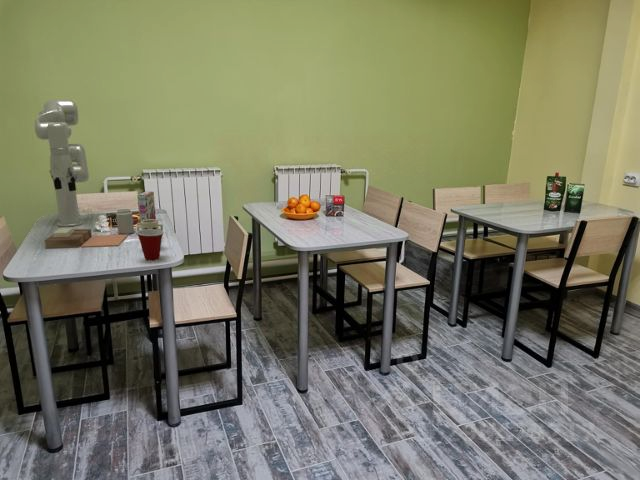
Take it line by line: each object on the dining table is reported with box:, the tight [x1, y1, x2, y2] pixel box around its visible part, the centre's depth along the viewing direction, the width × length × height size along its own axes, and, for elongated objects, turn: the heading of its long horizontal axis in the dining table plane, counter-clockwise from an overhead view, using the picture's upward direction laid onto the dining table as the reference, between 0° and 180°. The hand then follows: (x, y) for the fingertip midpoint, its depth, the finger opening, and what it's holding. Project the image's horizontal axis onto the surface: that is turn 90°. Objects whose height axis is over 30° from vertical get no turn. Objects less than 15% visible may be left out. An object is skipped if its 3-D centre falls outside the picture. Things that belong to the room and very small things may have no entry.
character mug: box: [136, 218, 164, 232], centre depth 213 cm, size 11×7×13 cm, turn 111°
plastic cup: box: [136, 229, 165, 261], centre depth 201 cm, size 11×11×12 cm
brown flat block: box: [44, 228, 93, 249], centre depth 224 cm, size 18×14×4 cm
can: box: [115, 208, 135, 235], centre depth 239 cm, size 8×8×12 cm
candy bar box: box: [137, 191, 157, 226], centre depth 259 cm, size 11×5×16 cm, turn 178°
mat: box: [80, 234, 129, 248], centre depth 226 cm, size 18×16×1 cm
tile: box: [52, 227, 75, 237], centre depth 222 cm, size 9×6×2 cm, turn 8°
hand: (65, 189), depth 218 cm, fingers open, 9 cm apart
